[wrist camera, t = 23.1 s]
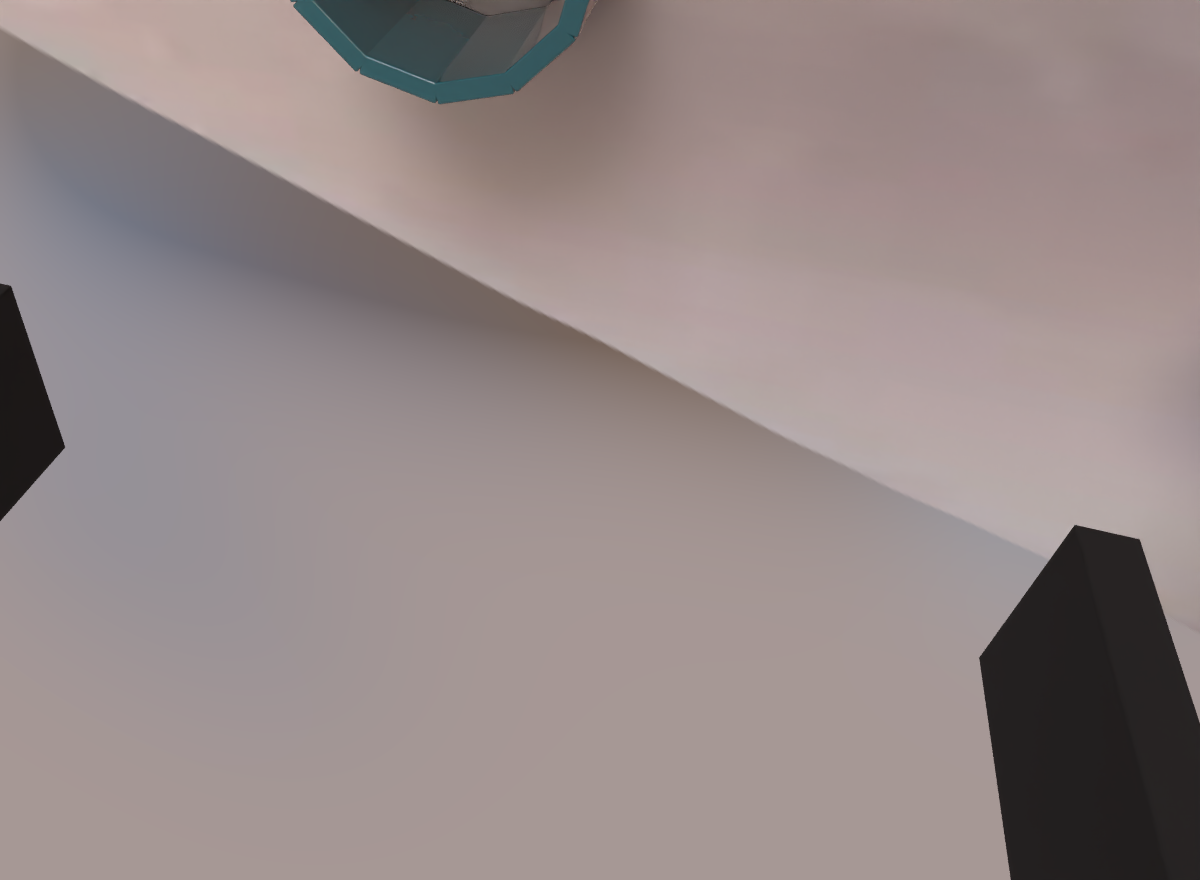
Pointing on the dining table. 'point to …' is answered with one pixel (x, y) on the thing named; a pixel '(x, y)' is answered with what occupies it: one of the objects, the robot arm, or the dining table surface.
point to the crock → (446, 43)
